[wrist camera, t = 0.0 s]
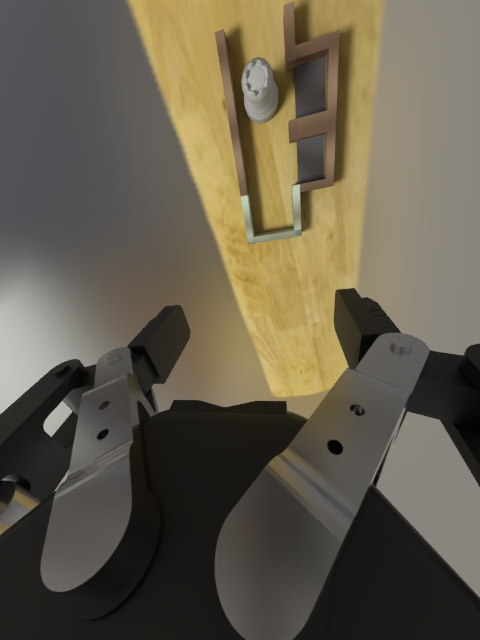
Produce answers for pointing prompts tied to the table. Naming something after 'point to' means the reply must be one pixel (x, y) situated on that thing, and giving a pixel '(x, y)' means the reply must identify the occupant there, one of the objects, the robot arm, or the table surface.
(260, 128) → the table surface
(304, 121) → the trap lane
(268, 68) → the rook chess piece
